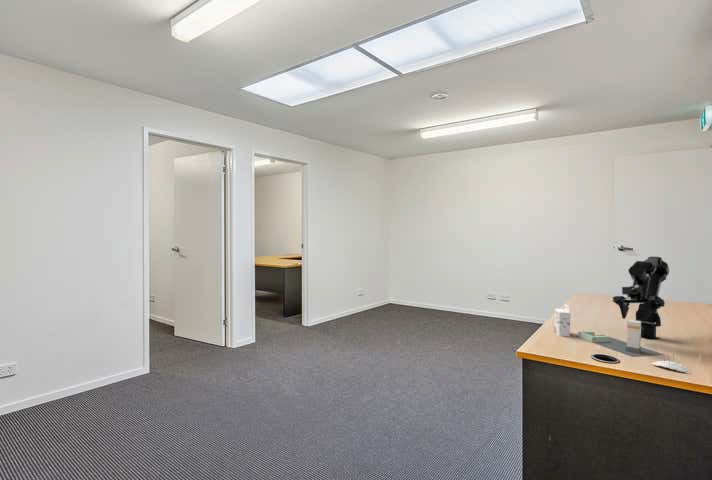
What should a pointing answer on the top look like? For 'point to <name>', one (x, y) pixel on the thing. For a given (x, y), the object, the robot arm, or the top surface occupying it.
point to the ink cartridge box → (562, 321)
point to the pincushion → (672, 365)
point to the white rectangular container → (633, 336)
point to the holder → (592, 337)
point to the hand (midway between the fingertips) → (634, 318)
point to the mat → (624, 347)
